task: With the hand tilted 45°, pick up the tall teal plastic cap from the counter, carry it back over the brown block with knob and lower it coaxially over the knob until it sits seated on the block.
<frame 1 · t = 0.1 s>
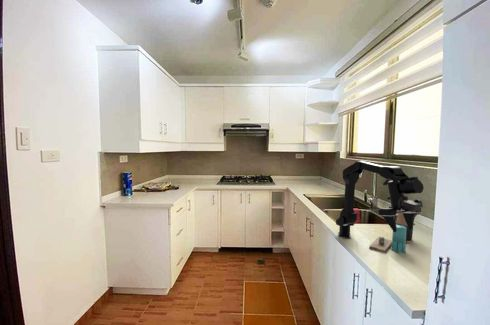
hand: (403, 230, 100), 15 cm above the worktop, tool pointing down, fingers open, 9 cm apart
brown block with knob: (381, 245, 121), on the worktop
teal cap: (398, 250, 116), on the worktop
travel mug: (404, 239, 130), on the worktop
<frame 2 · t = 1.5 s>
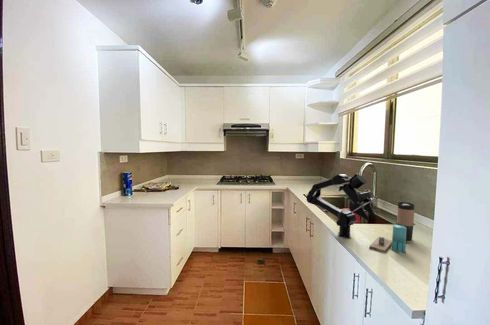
hand: (371, 217, 123), 14 cm above the worktop, tool tilted 40°, fingers open, 9 cm apart
nothing on the worktop moved.
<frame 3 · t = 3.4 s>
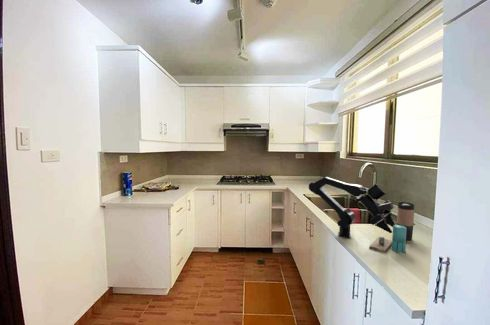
hand: (393, 230, 117), 10 cm above the worktop, tool tilted 45°, fingers open, 9 cm apart
nothing on the worktop moved.
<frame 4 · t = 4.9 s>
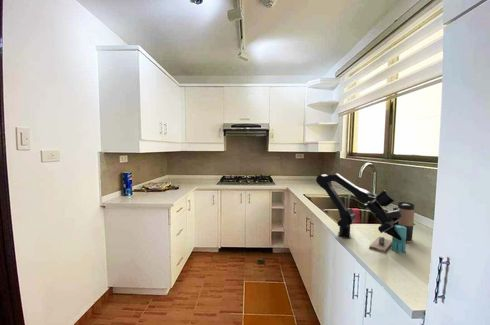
hand: (402, 238, 114), 7 cm above the worktop, tool tilted 45°, fingers closed on teal cap, 6 cm apart
teal cap: (398, 250, 116), on the worktop, touching gripper
everything else where it was.
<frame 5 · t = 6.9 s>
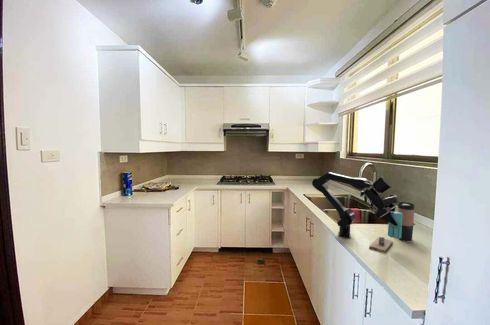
hand: (398, 224, 115), 13 cm above the worktop, tool tilted 45°, fingers closed on teal cap, 6 cm apart
teal cap: (394, 236, 116), point 7 cm above the worktop, touching gripper
everything else where it was.
when the fingers open (8 cm above the worktop, at t = 9.1 s): teal cap stays where it is, resting on brown block with knob.
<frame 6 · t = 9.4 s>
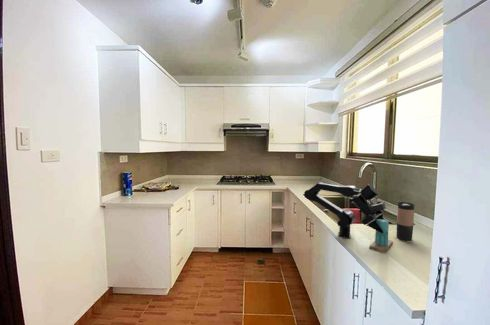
hand: (385, 230, 119), 9 cm above the worktop, tool tilted 45°, fingers open, 9 cm apart
teal cap: (381, 243, 121), point 1 cm above the worktop, touching brown block with knob
everything else where it was.
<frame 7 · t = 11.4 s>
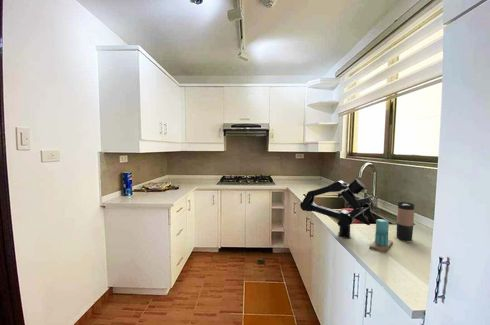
hand: (372, 222, 123), 11 cm above the worktop, tool tilted 45°, fingers open, 9 cm apart
nothing on the worktop moved.
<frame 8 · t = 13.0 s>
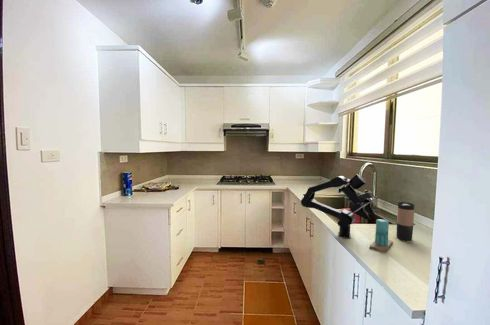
hand: (372, 218, 123), 14 cm above the worktop, tool tilted 45°, fingers open, 9 cm apart
nothing on the worktop moved.
at the end: teal cap 0.1 cm from the brown block with knob (horizontally); teal cap point 1.2 cm above the worktop; teal cap tilted 0° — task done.
